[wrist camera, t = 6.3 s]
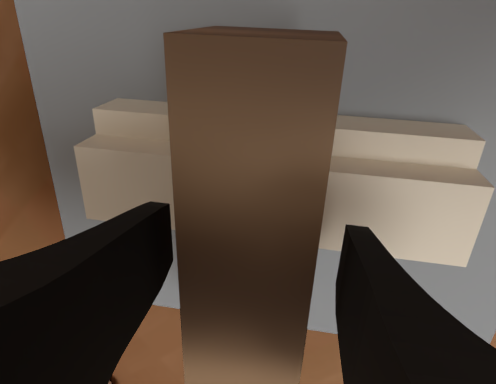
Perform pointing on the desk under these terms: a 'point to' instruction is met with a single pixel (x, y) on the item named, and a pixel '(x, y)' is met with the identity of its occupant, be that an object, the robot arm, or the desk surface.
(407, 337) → the robot arm
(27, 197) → the desk surface
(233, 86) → the walnut bar
